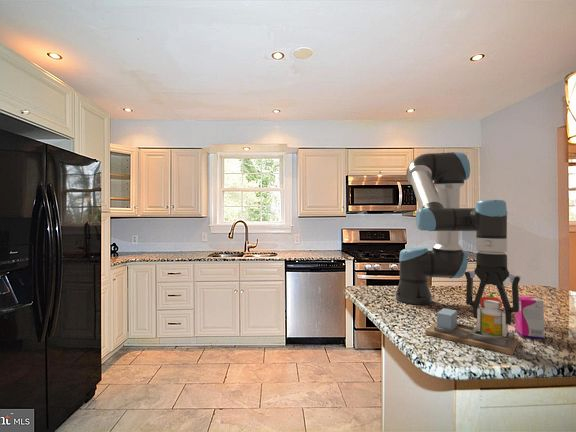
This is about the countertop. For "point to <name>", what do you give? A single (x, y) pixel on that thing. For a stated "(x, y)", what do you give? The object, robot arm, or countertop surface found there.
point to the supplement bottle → (491, 319)
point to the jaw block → (447, 319)
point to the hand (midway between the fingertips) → (491, 332)
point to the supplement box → (530, 317)
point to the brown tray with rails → (475, 338)
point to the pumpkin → (490, 299)
